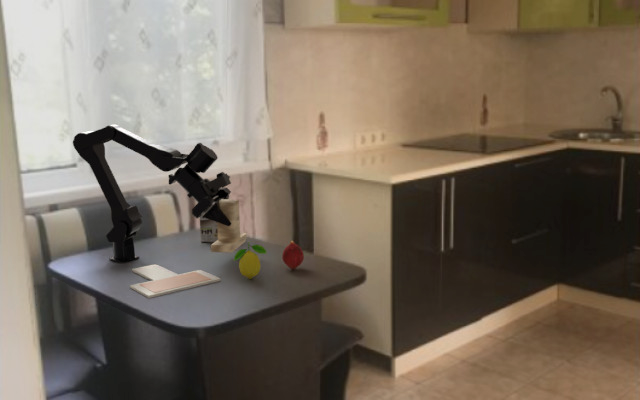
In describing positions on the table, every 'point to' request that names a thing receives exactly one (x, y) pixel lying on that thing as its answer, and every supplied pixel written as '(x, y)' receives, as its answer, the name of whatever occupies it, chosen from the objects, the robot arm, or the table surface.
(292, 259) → the onion
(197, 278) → the tee mat
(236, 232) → the birch tee block
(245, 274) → the lemon
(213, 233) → the coffee box
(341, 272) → the table surface
